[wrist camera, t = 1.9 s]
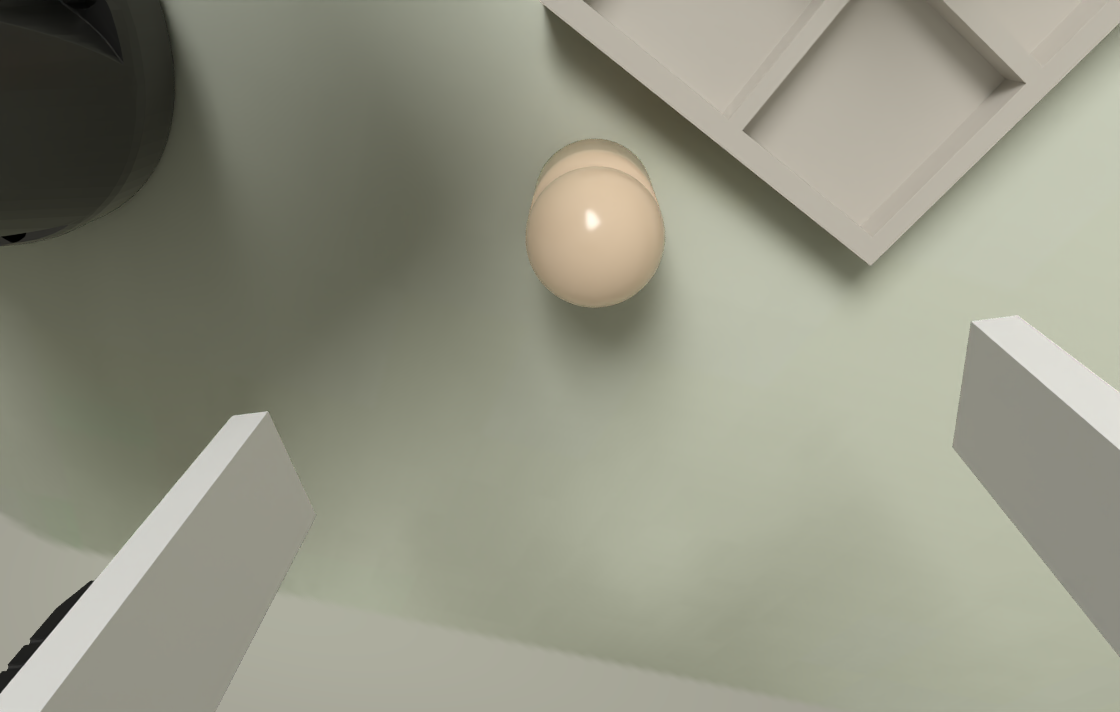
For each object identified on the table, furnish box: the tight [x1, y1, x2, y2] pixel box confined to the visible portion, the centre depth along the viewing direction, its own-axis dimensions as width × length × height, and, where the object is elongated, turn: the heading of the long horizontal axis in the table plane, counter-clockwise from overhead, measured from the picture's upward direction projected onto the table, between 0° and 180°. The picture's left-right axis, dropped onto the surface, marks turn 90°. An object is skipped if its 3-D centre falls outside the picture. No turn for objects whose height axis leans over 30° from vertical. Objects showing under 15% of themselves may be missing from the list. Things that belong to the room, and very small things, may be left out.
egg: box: [526, 139, 665, 308], centre depth 23 cm, size 5×5×7 cm
